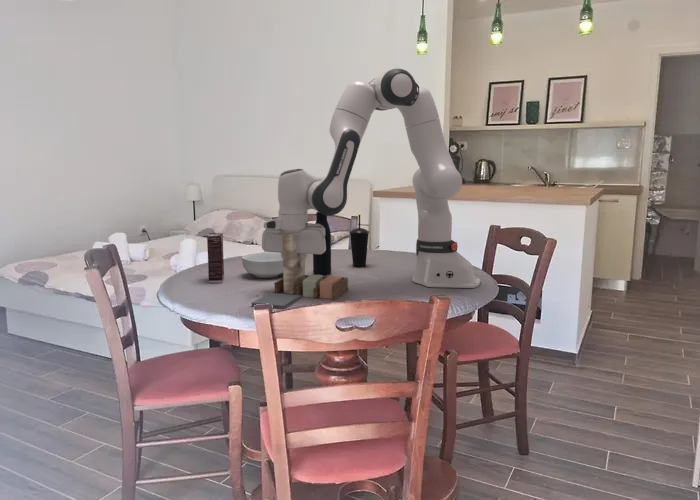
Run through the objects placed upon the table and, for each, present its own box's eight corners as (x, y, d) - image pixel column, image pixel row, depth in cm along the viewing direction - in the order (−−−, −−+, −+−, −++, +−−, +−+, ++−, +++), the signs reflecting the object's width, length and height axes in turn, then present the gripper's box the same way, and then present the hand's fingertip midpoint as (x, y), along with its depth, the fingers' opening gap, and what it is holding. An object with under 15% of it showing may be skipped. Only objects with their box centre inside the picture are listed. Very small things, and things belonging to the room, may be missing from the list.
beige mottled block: (305, 286, 173) (304, 230, 170) (293, 293, 163) (291, 234, 160) (296, 285, 174) (295, 230, 171) (283, 293, 164) (282, 234, 161)
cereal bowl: (235, 280, 185) (234, 259, 184) (251, 270, 201) (251, 251, 200) (283, 281, 182) (283, 261, 181) (296, 271, 199) (295, 252, 197)
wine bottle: (328, 276, 190) (328, 190, 185) (311, 275, 192) (310, 190, 187) (332, 272, 197) (332, 189, 192) (315, 271, 198) (314, 189, 193)
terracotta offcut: (341, 292, 169) (341, 276, 168) (332, 299, 160) (332, 282, 160) (329, 291, 170) (329, 275, 169) (319, 298, 162) (319, 281, 161)
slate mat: (300, 298, 161) (300, 295, 160) (284, 309, 149) (284, 305, 149) (269, 295, 163) (269, 292, 163) (251, 306, 152) (251, 302, 152)
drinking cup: (345, 266, 208) (345, 214, 205) (359, 263, 213) (359, 213, 210) (358, 269, 202) (358, 216, 199) (373, 266, 207) (373, 214, 204)
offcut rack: (347, 289, 171) (347, 277, 170) (334, 300, 158) (334, 287, 158) (291, 285, 176) (291, 273, 176) (274, 295, 164) (274, 282, 163)
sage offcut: (323, 290, 171) (322, 275, 170) (315, 297, 162) (315, 281, 161) (310, 290, 172) (310, 274, 171) (302, 297, 163) (302, 280, 162)
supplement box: (223, 283, 181) (221, 236, 178) (208, 283, 180) (206, 236, 177) (224, 277, 189) (223, 232, 186) (210, 277, 188) (208, 232, 185)
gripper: (328, 222, 165) (329, 266, 167) (267, 220, 171) (269, 263, 173) (321, 225, 159) (322, 271, 161) (258, 223, 165) (260, 267, 167)
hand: (294, 267), depth 167 cm, fingers closed on beige mottled block, 3 cm apart
